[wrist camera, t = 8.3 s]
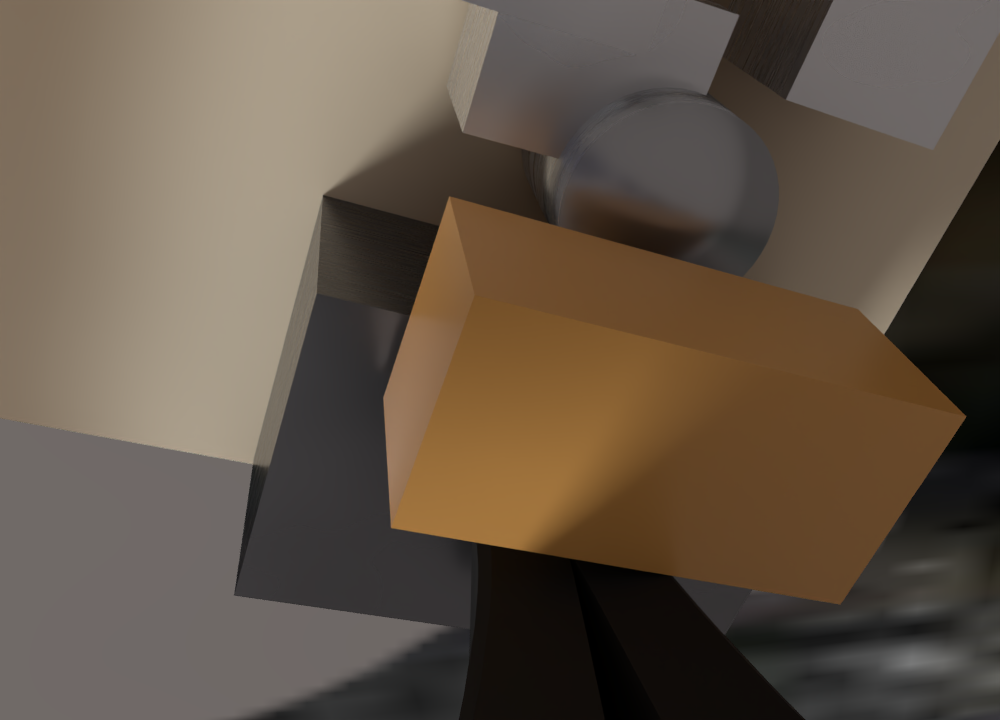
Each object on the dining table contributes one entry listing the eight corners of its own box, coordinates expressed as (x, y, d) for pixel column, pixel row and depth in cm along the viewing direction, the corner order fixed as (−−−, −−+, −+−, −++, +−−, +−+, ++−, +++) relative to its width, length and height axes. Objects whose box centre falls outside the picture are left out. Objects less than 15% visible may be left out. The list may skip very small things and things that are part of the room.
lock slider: (383, 397, 9) (391, 528, 7) (449, 196, 8) (473, 295, 6) (762, 477, 10) (839, 604, 8) (857, 309, 9) (966, 417, 7)
